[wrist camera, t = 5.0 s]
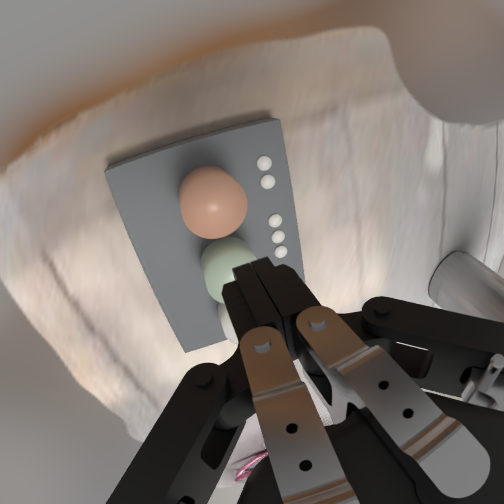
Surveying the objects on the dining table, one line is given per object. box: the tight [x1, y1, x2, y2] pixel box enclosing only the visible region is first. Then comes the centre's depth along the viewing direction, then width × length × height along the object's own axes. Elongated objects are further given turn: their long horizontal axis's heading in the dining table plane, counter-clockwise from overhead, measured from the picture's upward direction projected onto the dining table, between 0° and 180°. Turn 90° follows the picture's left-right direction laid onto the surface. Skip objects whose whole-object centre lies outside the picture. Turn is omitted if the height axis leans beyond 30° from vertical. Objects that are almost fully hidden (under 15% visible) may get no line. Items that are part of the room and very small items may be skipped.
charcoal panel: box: [104, 118, 305, 353], centre depth 27 cm, size 14×20×2 cm
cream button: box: [217, 302, 238, 344], centre depth 28 cm, size 4×4×3 cm
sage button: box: [201, 237, 257, 304], centre depth 24 cm, size 4×4×3 cm
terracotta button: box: [178, 166, 248, 239], centre depth 21 cm, size 4×4×3 cm
